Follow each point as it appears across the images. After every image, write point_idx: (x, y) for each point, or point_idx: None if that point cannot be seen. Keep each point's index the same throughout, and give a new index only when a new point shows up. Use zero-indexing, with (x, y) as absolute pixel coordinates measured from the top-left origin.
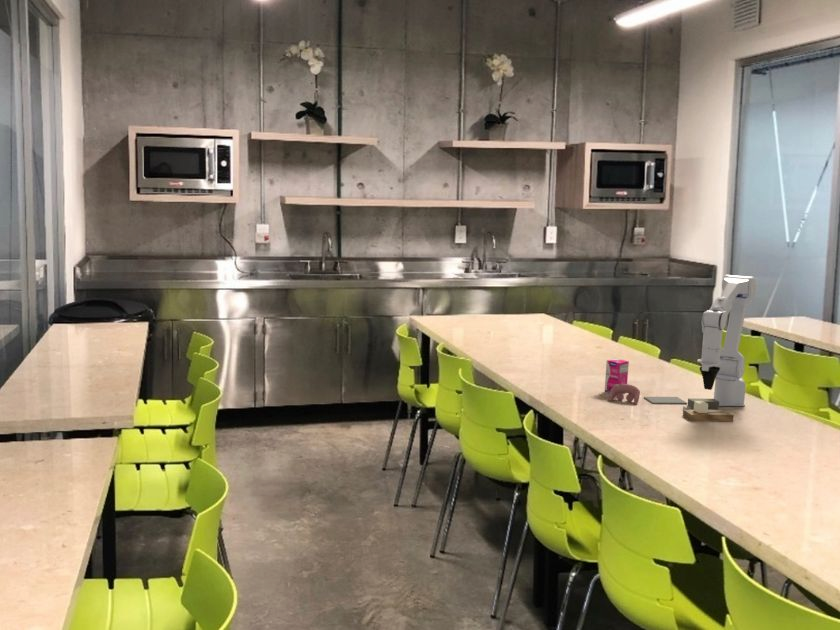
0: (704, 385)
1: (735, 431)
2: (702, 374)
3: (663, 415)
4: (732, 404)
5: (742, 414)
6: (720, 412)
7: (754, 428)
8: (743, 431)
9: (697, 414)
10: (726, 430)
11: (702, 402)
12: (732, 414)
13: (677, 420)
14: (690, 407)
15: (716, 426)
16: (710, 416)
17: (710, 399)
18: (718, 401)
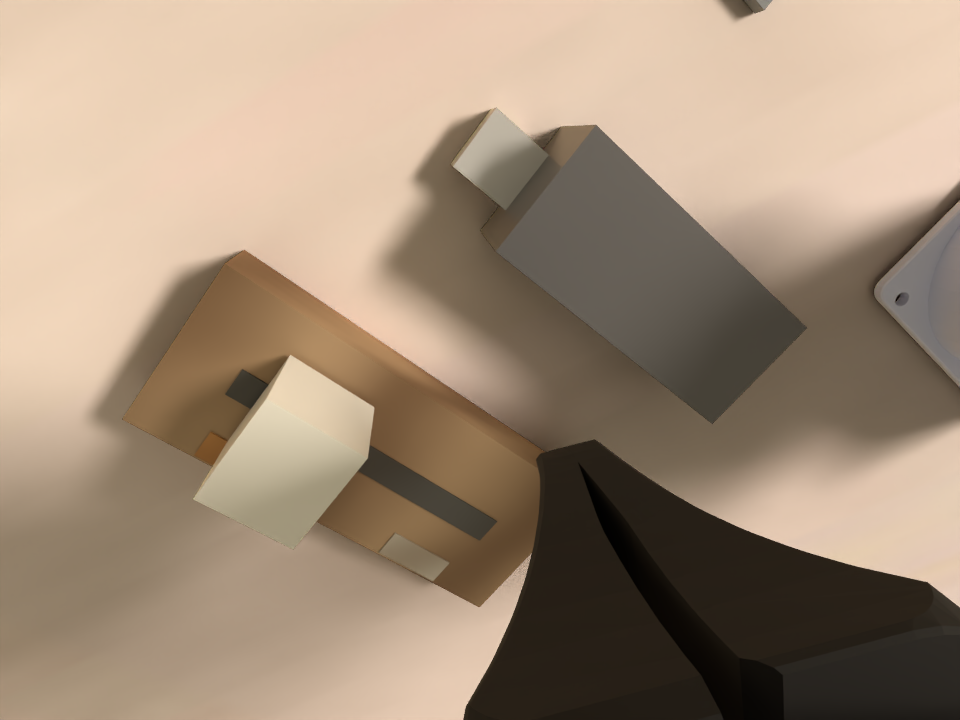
0: (541, 485)
1: (216, 696)
2: (512, 635)
3: (46, 97)
4: (957, 361)
5: (721, 517)
6: (454, 525)
7: (407, 713)
8: (269, 716)
9: (190, 449)
10: (178, 660)
11: (290, 487)
12: (479, 599)
13: (31, 306)
14: (498, 203)
15: (207, 580)
16: None
17: (741, 325)
18: (713, 414)
